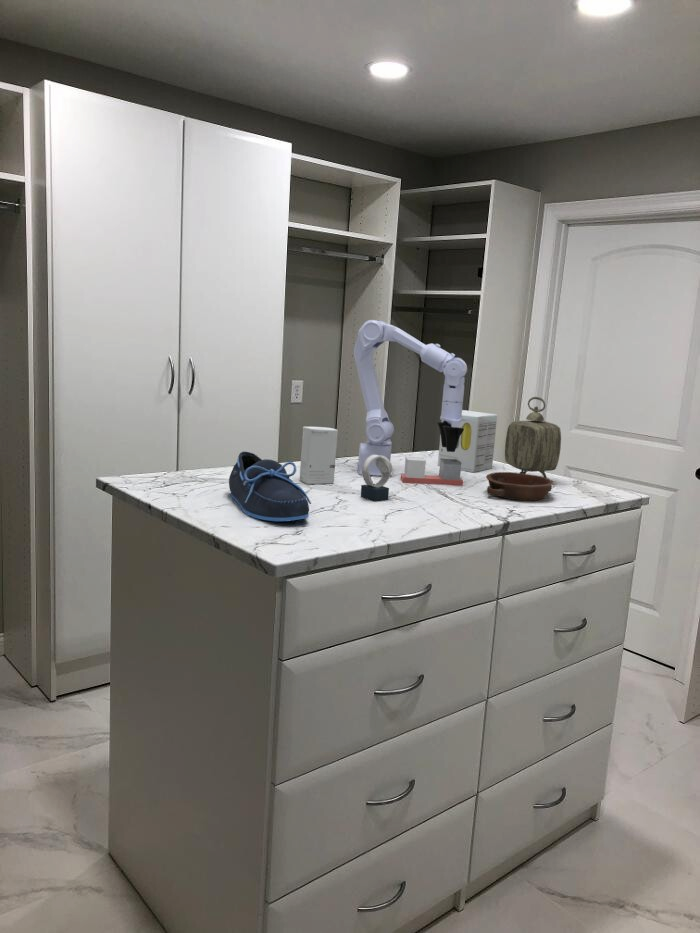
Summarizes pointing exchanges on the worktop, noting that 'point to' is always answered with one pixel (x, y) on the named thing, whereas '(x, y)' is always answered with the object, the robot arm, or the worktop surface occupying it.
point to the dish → (518, 486)
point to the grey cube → (450, 469)
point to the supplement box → (474, 442)
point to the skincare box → (318, 455)
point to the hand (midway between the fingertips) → (448, 449)
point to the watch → (378, 490)
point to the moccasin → (267, 489)
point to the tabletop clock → (533, 443)
